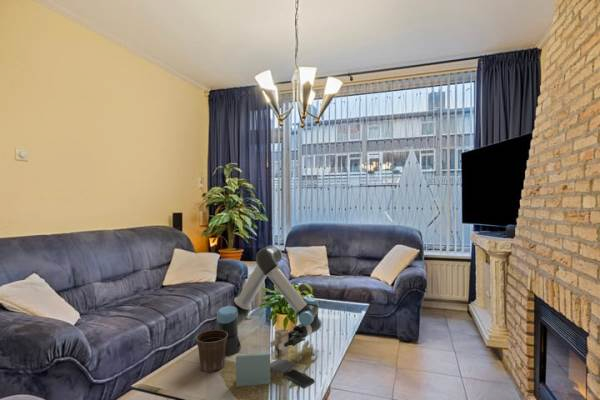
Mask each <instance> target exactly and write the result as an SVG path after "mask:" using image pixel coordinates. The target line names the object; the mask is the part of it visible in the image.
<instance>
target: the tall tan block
mask: <svg viewBox="0 0 600 400" xmlns="http://www.w3.org/2000/svg"><path fill="white" fill-rule="evenodd" d="M288 332H289V330H288V329H285V328H282V327H281V328H279V329H276V330H275V331H274V339H275V346H274V358H275V360H277V359H279V360H282V361H283V360H287V359H288V358H289V355H290V353H289V351H290V350H289V346H287V347H285V348H283V349H281V350H279V344H280V343H282V342H284V341H286V340H288V341H289V339H288Z"/></svg>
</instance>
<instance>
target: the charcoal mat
mask: <svg viewBox="0 0 600 400" xmlns="http://www.w3.org/2000/svg"><path fill="white" fill-rule="evenodd" d="M296 366H297V363H295V362H294V361H290V360H288V359H285V360H283V361H282V360H279V359H275V360H273V361H272V362H270V371H274V372H276V373H279V374H282V375H283V374H285V373H287V372H289V371H291V370H292V369H293V368H294V367H296Z"/></svg>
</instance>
